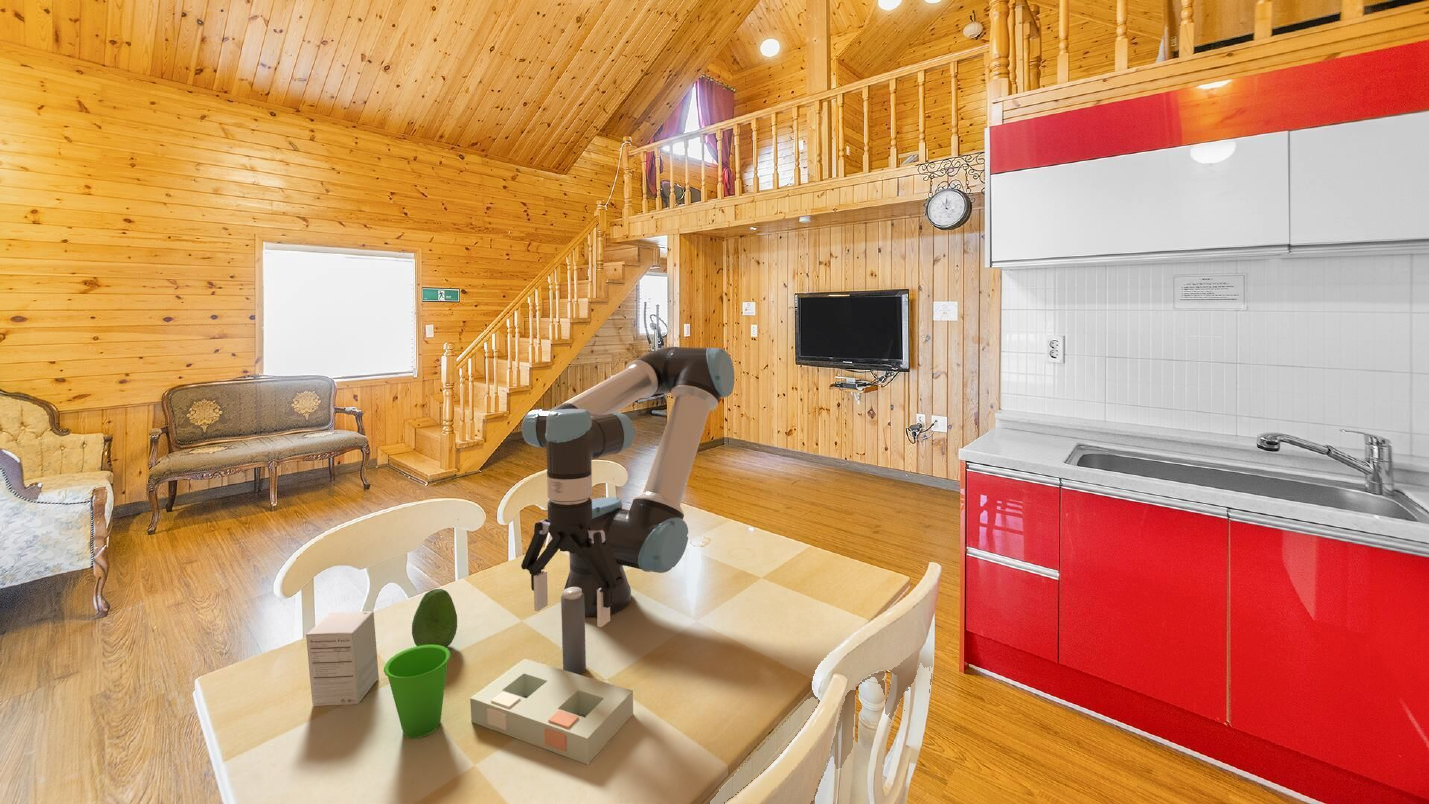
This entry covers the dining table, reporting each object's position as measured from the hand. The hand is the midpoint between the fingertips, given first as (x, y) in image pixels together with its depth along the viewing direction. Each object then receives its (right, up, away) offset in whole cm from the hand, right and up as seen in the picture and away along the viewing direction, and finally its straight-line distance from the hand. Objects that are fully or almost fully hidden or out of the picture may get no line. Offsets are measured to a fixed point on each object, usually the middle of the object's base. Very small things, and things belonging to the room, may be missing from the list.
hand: (571, 615), depth 103 cm
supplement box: (-37, -11, -5) cm, 39 cm away
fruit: (-28, -10, +8) cm, 31 cm away
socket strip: (0, -12, -11) cm, 16 cm away
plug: (0, -10, +2) cm, 11 cm away
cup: (-20, -12, -14) cm, 27 cm away
